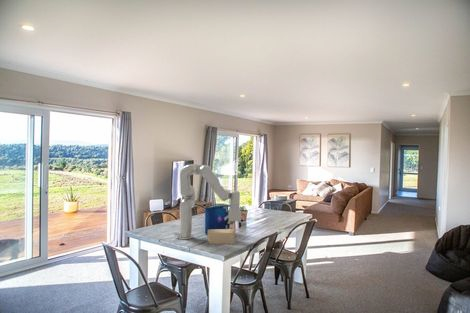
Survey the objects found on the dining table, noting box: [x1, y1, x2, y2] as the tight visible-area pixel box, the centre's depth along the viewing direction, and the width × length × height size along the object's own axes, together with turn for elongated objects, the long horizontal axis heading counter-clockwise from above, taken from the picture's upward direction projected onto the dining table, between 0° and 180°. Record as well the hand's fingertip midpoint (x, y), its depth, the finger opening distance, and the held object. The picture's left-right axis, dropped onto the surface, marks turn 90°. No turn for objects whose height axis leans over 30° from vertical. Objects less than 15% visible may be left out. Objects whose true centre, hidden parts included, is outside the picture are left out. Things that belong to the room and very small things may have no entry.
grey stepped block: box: [232, 222, 237, 242], centre depth 250 cm, size 20×10×13 cm, turn 103°
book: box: [204, 203, 229, 236], centre depth 273 cm, size 22×7×25 cm, turn 126°
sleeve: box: [207, 228, 236, 245], centre depth 250 cm, size 20×12×8 cm, turn 103°
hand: (234, 228), depth 252 cm, fingers open, 8 cm apart
